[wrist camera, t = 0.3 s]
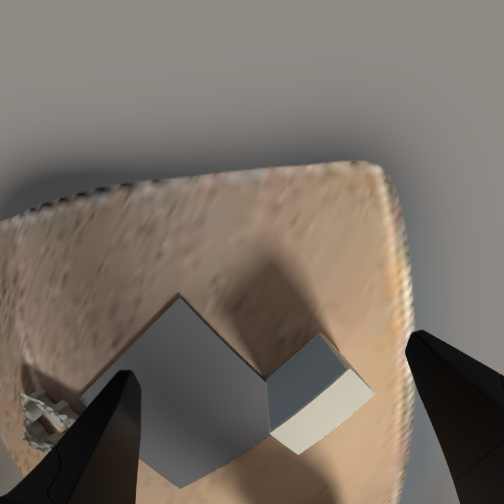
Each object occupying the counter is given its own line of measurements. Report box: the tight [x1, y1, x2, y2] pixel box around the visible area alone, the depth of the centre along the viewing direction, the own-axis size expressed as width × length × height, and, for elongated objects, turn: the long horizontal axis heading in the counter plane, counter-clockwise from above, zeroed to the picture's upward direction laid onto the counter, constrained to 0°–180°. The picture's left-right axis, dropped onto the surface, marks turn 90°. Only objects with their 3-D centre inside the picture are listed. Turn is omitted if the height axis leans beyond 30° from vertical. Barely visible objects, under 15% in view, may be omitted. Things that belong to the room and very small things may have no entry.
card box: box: [266, 332, 375, 455], centre depth 19 cm, size 3×6×8 cm, turn 134°
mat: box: [78, 297, 271, 489], centre depth 22 cm, size 14×16×1 cm
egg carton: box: [20, 388, 79, 452], centre depth 21 cm, size 11×8×4 cm
